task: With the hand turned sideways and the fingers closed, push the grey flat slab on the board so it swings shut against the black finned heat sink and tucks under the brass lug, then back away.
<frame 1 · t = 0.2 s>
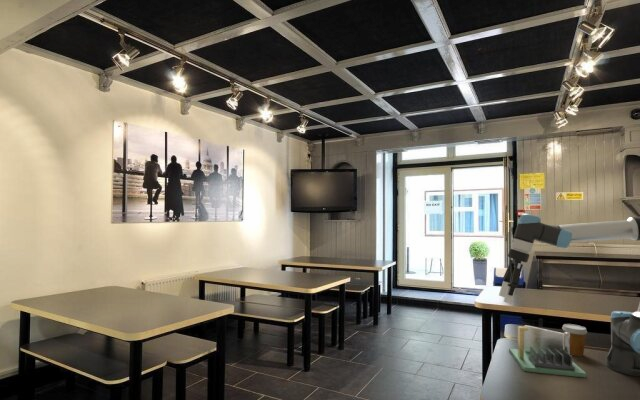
hand: (504, 299, 156), 27 cm above the table, tool tilted 15°, fingers open, 13 cm apart
grey flat slab: (543, 342, 162), point 7 cm above the table, hinge at 35.0°
heat sink: (547, 347, 154), on the motherboard, point 8 cm above the table
disposable coffee cup: (574, 354, 170), on the table
motherboard: (567, 365, 156), on the table
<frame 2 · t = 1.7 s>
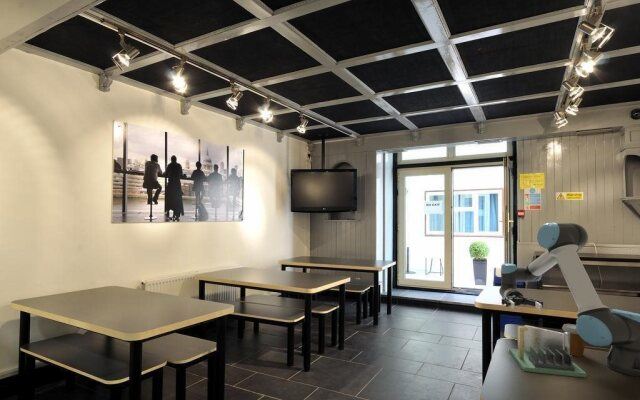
hand: (527, 307, 172), 20 cm above the table, tool horizontal, fingers open, 11 cm apart
nothing on the table moved.
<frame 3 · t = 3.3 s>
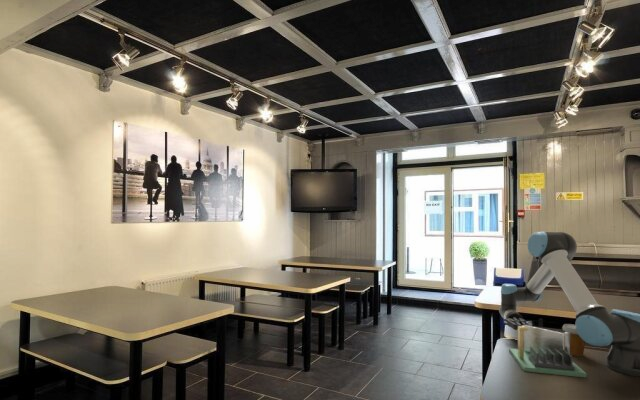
hand: (528, 332, 171), 9 cm above the table, tool horizontal, fingers closed
nothing on the table moved.
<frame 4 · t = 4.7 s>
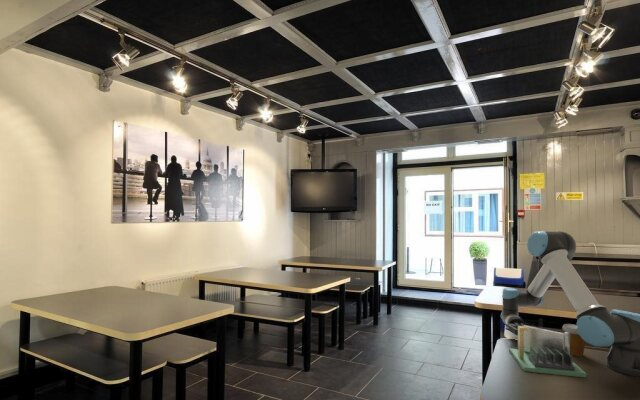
hand: (529, 338, 167), 7 cm above the table, tool horizontal, fingers closed
grey flat slab: (543, 342, 162), point 7 cm above the table, hinge at 32.0°, touching gripper
everything else where it was.
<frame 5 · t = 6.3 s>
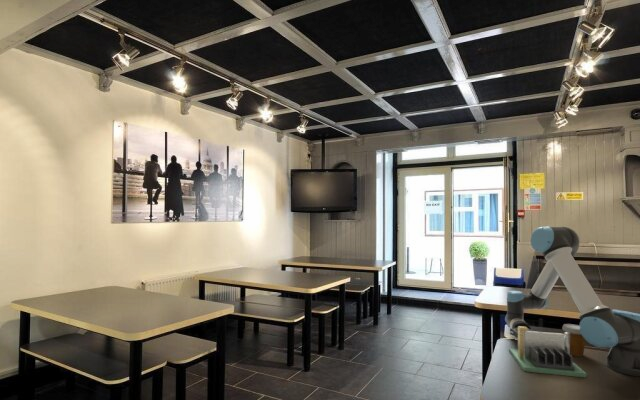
hand: (535, 344, 159), 7 cm above the table, tool horizontal, fingers closed, pressing on grey flat slab
grey flat slab: (543, 345, 158), point 7 cm above the table, hinge at -0.9°, touching gripper
everything else where it was.
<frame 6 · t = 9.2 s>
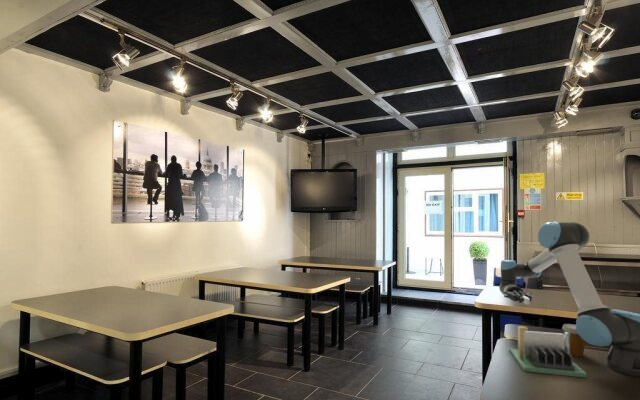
hand: (528, 301, 171), 23 cm above the table, tool horizontal, fingers closed
grey flat slab: (543, 345, 158), point 7 cm above the table, hinge at -0.8°
everything else where it was.
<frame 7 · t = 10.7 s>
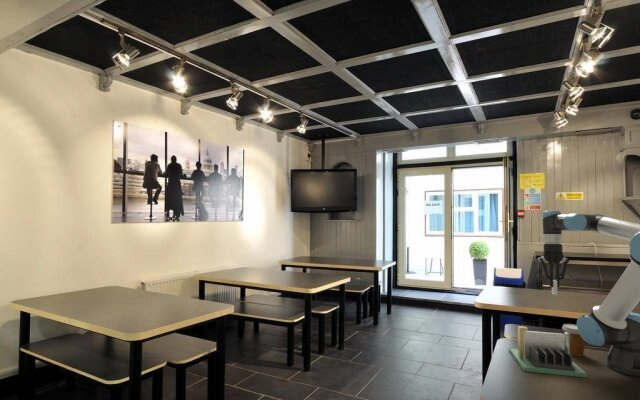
hand: (554, 294, 175), 26 cm above the table, tool pointing down, fingers closed
nothing on the table moved.
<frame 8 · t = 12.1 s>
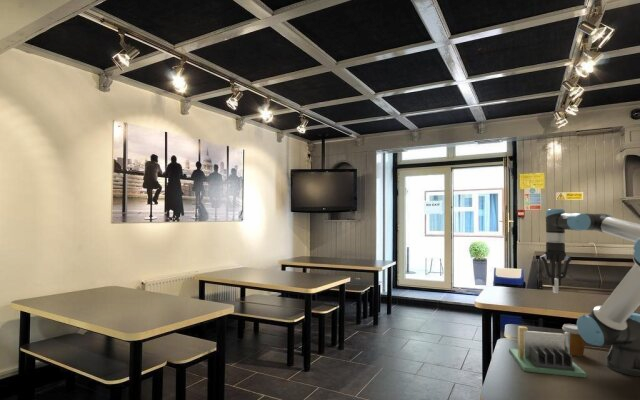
hand: (555, 292, 175), 26 cm above the table, tool pointing down, fingers closed
nothing on the table moved.
at the end: grey flat slab at -1° (first picture: +35°); the gripper is holding nothing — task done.
